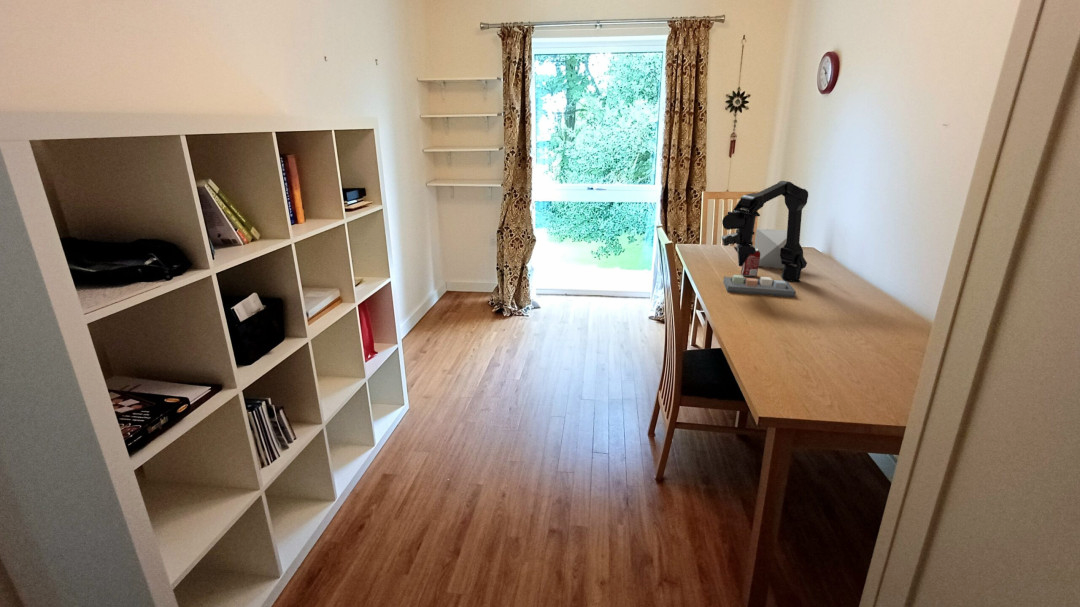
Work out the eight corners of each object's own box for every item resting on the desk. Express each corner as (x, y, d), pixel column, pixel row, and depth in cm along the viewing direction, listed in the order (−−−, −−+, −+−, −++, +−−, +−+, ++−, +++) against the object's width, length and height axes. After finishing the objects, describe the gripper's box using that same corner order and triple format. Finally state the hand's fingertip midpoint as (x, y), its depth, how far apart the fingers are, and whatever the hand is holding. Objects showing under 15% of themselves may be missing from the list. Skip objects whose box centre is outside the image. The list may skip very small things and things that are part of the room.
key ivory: (769, 283, 207) (770, 277, 207) (771, 286, 204) (772, 280, 203) (759, 282, 208) (760, 276, 207) (761, 285, 205) (762, 279, 204)
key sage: (741, 281, 209) (742, 275, 209) (743, 284, 206) (744, 277, 205) (731, 280, 210) (732, 274, 209) (733, 283, 207) (734, 277, 206)
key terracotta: (755, 284, 209) (756, 278, 208) (756, 287, 205) (757, 281, 204) (745, 284, 210) (746, 277, 209) (746, 286, 206) (747, 280, 205)
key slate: (783, 286, 207) (784, 280, 206) (785, 289, 203) (786, 283, 202) (773, 286, 207) (774, 280, 207) (775, 288, 204) (776, 282, 203)
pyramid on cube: (755, 263, 230) (760, 223, 229) (749, 267, 253) (753, 231, 253) (795, 267, 225) (801, 226, 225) (785, 270, 248) (790, 234, 248)
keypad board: (786, 287, 211) (787, 281, 211) (794, 297, 199) (795, 291, 198) (723, 282, 216) (724, 276, 215) (727, 292, 203) (728, 286, 202)
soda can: (759, 277, 224) (763, 251, 220) (743, 277, 224) (747, 250, 220) (753, 273, 230) (757, 247, 226) (738, 273, 230) (742, 247, 226)
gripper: (721, 222, 211) (716, 259, 216) (727, 231, 193) (722, 270, 199) (750, 224, 209) (744, 261, 214) (758, 233, 191) (752, 272, 197)
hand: (740, 266), depth 206 cm, fingers closed
